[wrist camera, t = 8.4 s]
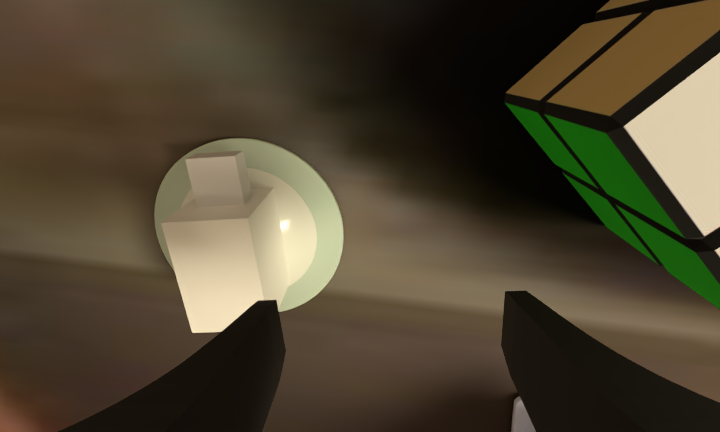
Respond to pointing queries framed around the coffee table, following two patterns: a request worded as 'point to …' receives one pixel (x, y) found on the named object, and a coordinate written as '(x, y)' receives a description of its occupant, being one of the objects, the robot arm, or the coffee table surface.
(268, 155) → the coaster
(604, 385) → the robot arm
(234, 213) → the connector
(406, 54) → the coffee table surface
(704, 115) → the puzzle cube
